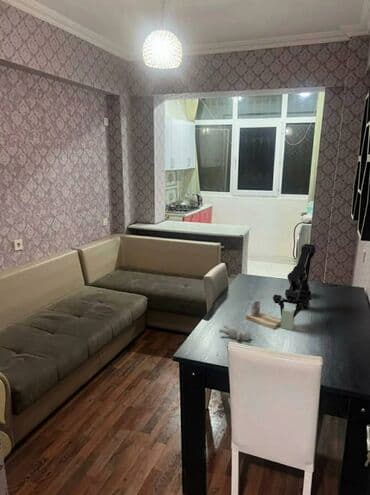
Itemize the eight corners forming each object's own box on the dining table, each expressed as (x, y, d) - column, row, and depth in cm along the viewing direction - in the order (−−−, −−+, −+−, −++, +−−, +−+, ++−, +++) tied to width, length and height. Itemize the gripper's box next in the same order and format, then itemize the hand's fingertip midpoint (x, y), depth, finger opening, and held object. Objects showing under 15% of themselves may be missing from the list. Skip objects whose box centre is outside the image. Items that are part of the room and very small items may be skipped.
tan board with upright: (256, 314, 208) (257, 297, 206) (283, 323, 195) (284, 306, 193) (245, 318, 201) (246, 302, 199) (273, 329, 189) (274, 311, 186)
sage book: (282, 325, 193) (283, 308, 191) (293, 328, 190) (295, 310, 188) (280, 327, 190) (281, 310, 188) (292, 330, 187) (293, 312, 185)
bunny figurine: (247, 336, 172) (218, 326, 178) (245, 346, 173) (217, 336, 179) (253, 329, 180) (225, 320, 186) (251, 338, 181) (224, 328, 188)
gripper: (274, 280, 193) (266, 306, 186) (310, 286, 183) (303, 313, 177) (278, 289, 201) (271, 315, 194) (312, 296, 192) (306, 322, 185)
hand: (287, 316), depth 187 cm, fingers closed on sage book, 6 cm apart
